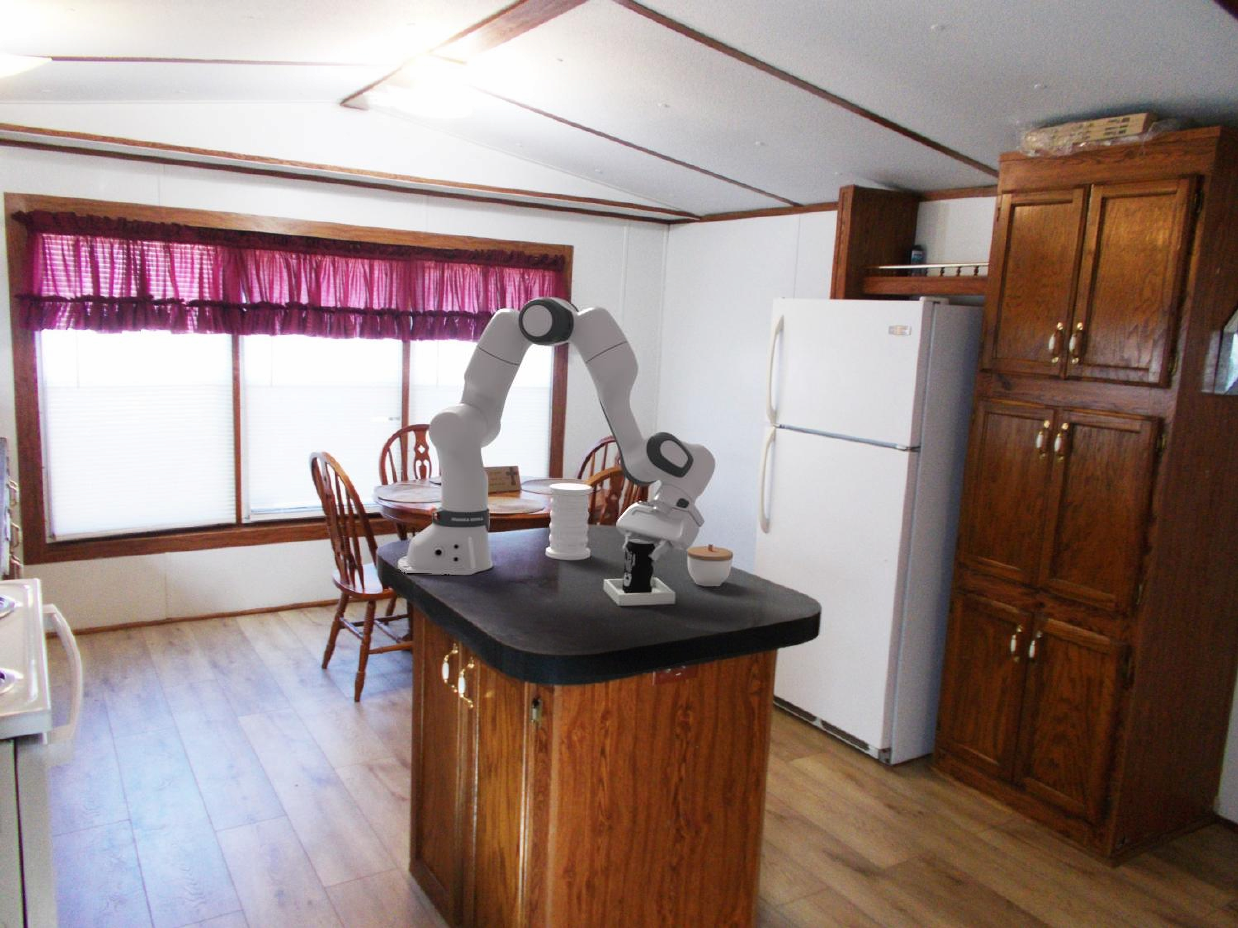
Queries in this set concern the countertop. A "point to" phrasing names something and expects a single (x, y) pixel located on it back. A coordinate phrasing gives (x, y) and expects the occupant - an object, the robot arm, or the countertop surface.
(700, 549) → the lidded jar
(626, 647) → the countertop surface
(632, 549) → the beverage can
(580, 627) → the countertop surface
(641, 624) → the countertop surface
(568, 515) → the decorative container
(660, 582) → the tray
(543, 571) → the countertop surface
